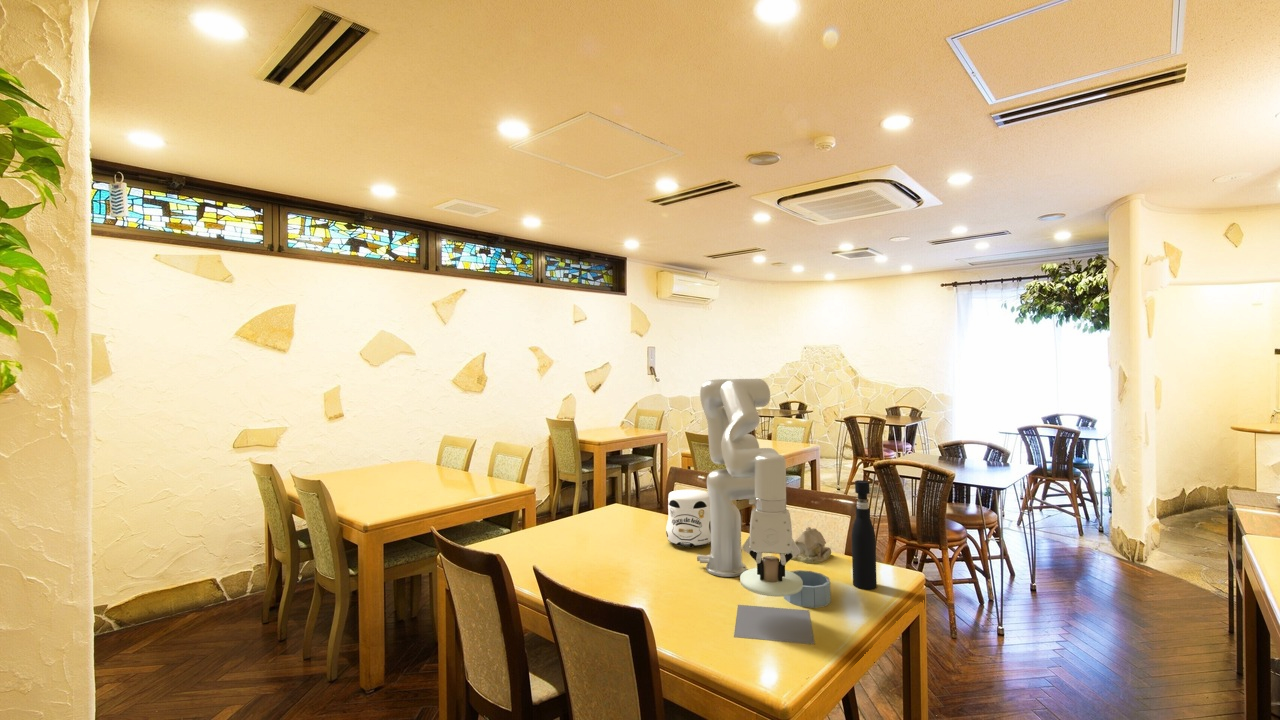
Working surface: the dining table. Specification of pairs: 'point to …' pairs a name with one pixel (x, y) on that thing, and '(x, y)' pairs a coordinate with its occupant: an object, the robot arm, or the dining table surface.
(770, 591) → the lid
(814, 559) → the ceramic model
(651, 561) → the dining table surface
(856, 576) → the black water bottle
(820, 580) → the bowl
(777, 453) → the robot arm
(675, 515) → the milk container
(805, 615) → the mat
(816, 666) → the dining table surface
